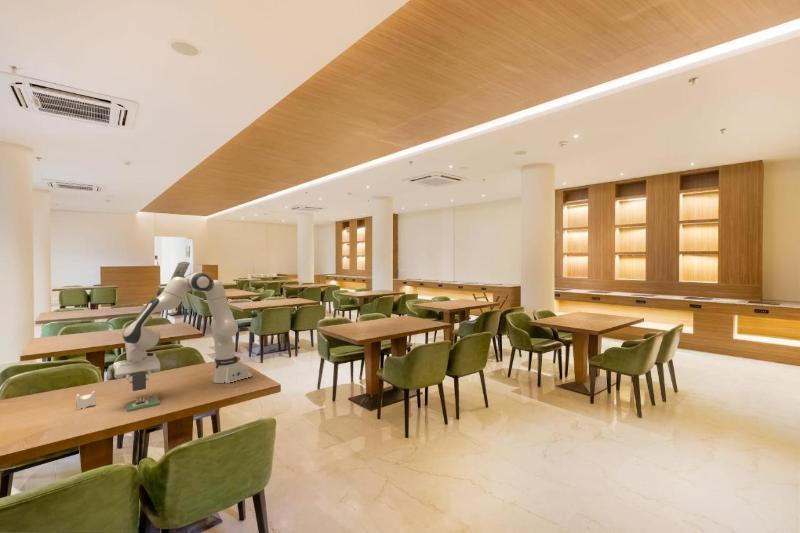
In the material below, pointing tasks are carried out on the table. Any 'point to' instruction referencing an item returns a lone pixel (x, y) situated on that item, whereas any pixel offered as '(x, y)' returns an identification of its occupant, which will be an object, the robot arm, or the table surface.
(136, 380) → the block
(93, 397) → the bracket
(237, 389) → the table surface
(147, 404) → the header board
